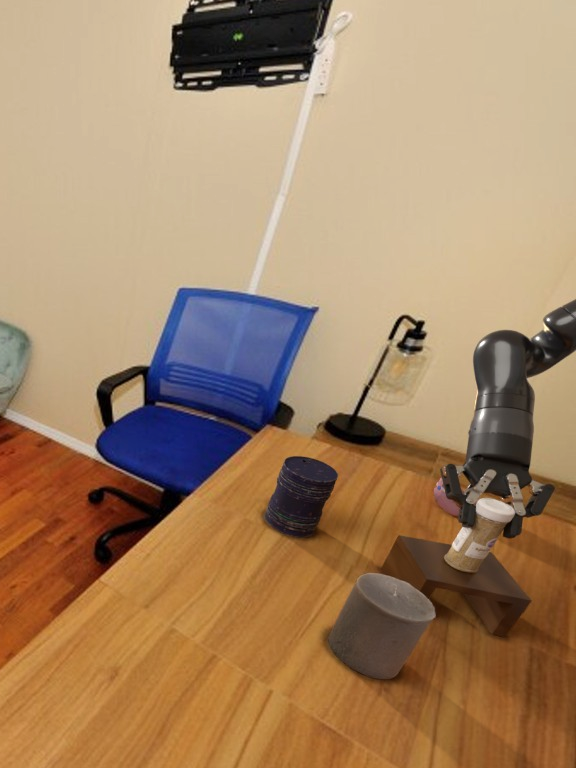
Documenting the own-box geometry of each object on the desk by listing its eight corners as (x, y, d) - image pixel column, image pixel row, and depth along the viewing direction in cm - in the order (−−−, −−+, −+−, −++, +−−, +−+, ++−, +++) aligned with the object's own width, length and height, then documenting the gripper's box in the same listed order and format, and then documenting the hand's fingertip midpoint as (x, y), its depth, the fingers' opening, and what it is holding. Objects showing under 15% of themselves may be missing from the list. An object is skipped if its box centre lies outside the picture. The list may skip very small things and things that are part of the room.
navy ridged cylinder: (323, 539, 109) (349, 483, 102) (274, 535, 111) (296, 480, 104) (302, 510, 118) (323, 457, 111) (256, 507, 120) (275, 454, 113)
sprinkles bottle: (471, 577, 88) (511, 517, 81) (438, 561, 91) (474, 502, 85) (481, 567, 90) (520, 507, 84) (448, 551, 93) (483, 493, 87)
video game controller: (442, 499, 124) (436, 472, 123) (468, 500, 120) (463, 472, 119) (433, 516, 118) (427, 488, 117) (461, 517, 114) (455, 489, 114)
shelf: (468, 587, 97) (491, 552, 93) (504, 637, 87) (532, 600, 83) (380, 569, 102) (398, 534, 98) (405, 615, 92) (426, 579, 88)
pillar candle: (319, 650, 86) (351, 587, 79) (337, 619, 91) (368, 557, 84) (391, 692, 79) (433, 626, 72) (406, 656, 84) (446, 591, 78)
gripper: (456, 422, 88) (443, 515, 85) (573, 442, 82) (564, 544, 78) (435, 434, 95) (422, 521, 91) (542, 455, 88) (533, 549, 85)
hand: (488, 531), depth 85 cm, fingers closed on sprinkles bottle, 4 cm apart
